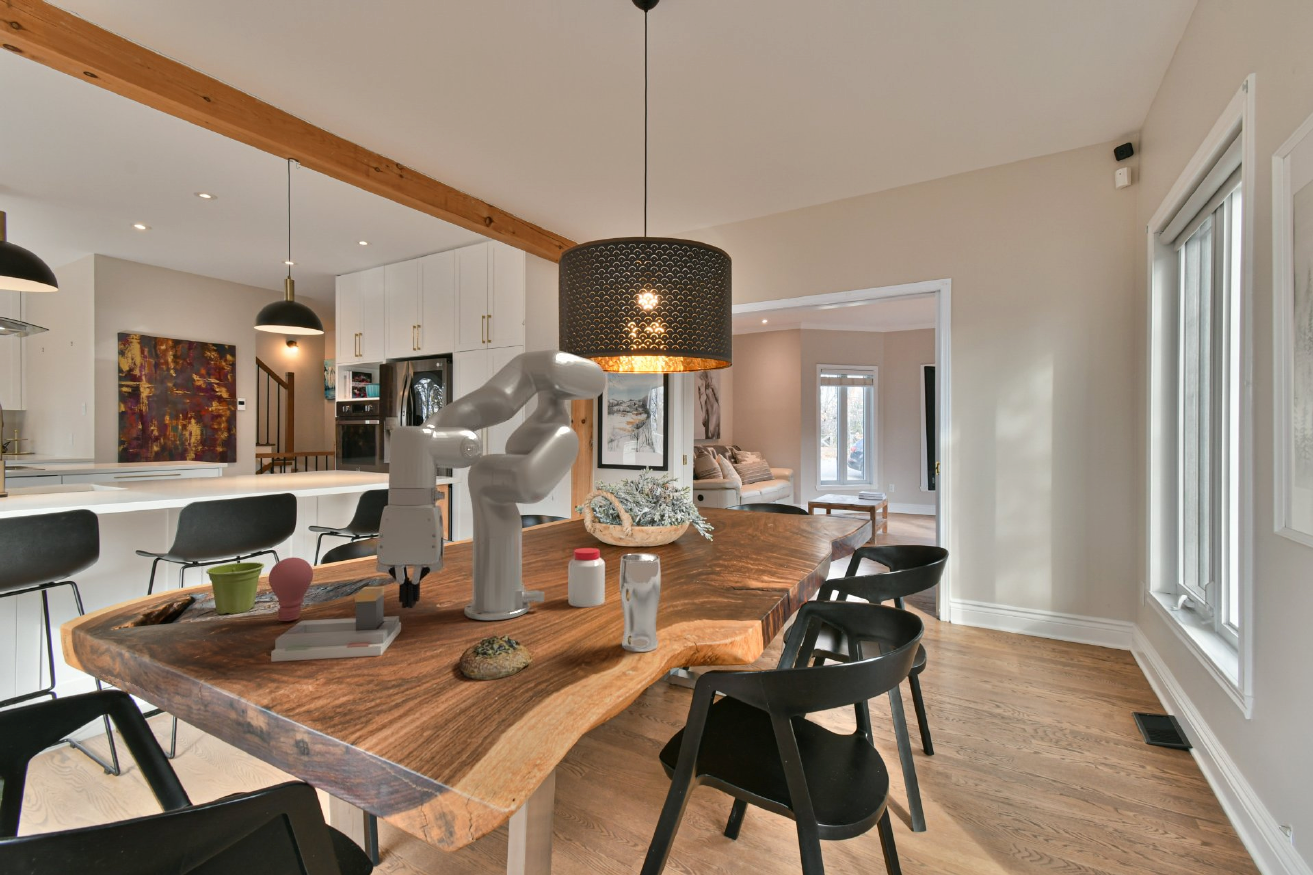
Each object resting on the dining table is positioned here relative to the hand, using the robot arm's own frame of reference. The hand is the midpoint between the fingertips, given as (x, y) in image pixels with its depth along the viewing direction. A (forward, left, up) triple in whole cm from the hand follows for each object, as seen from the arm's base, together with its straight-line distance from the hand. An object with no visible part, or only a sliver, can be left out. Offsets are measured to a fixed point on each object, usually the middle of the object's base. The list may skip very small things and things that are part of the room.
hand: (409, 605), depth 98 cm
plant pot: (+39, -25, -7) cm, 47 cm away
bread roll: (-16, +12, -7) cm, 21 cm away
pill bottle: (-31, -20, -7) cm, 37 cm away
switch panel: (+11, -1, -6) cm, 13 cm away
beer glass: (-39, +8, -7) cm, 40 cm away
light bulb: (+25, -16, -7) cm, 30 cm away
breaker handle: (+6, -1, -4) cm, 8 cm away
